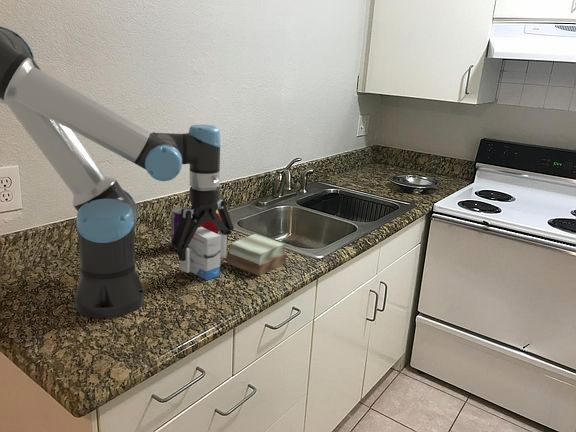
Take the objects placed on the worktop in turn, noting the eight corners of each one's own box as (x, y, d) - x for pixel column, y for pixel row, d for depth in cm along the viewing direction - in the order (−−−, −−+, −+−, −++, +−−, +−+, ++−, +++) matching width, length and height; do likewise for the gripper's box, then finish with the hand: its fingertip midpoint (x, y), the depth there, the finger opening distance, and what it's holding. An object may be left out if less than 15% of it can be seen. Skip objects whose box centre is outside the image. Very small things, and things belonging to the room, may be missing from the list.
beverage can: (189, 253, 142) (189, 215, 139) (167, 250, 144) (166, 212, 140) (198, 245, 149) (199, 208, 145) (177, 242, 150) (176, 205, 146)
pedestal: (259, 275, 131) (260, 255, 129) (226, 263, 138) (227, 243, 136) (285, 262, 140) (286, 243, 139) (254, 251, 147) (254, 232, 145)
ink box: (221, 275, 130) (222, 234, 126) (206, 281, 126) (206, 239, 123) (201, 265, 135) (201, 225, 132) (186, 270, 132) (186, 229, 128)
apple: (220, 226, 166) (221, 198, 163) (227, 235, 159) (227, 206, 156) (196, 227, 163) (197, 199, 160) (202, 236, 156) (202, 207, 152)
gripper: (176, 199, 111) (177, 282, 118) (248, 181, 131) (245, 253, 137) (155, 192, 116) (157, 273, 122) (227, 176, 135) (226, 246, 142)
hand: (204, 263), depth 130 cm, fingers open, 13 cm apart
